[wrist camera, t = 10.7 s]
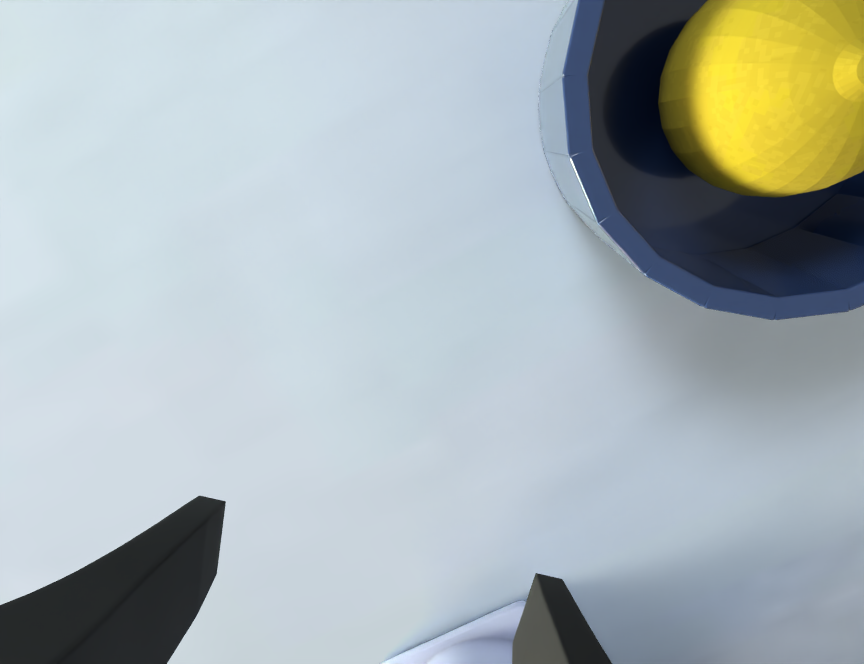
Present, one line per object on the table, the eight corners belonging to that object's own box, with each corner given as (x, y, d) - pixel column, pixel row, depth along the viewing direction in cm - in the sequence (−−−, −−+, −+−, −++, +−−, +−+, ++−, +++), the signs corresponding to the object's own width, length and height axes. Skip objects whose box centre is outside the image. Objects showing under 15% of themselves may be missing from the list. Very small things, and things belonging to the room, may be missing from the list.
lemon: (630, 6, 19) (736, -85, 11) (822, -12, 18) (1072, -122, 10) (627, 191, 20) (717, 223, 13) (802, 179, 20) (1006, 205, 12)
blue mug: (752, 321, 22) (860, 393, 16) (477, 171, 21) (476, 185, 15) (1059, -98, 17) (1375, -226, 11) (729, -308, 17) (877, -572, 10)
